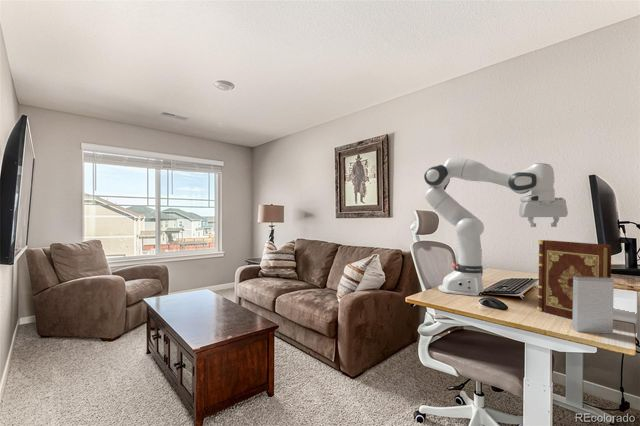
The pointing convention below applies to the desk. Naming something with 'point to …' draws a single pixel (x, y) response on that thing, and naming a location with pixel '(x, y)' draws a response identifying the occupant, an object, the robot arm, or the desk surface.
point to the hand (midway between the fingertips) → (543, 227)
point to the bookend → (593, 304)
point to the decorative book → (567, 272)
